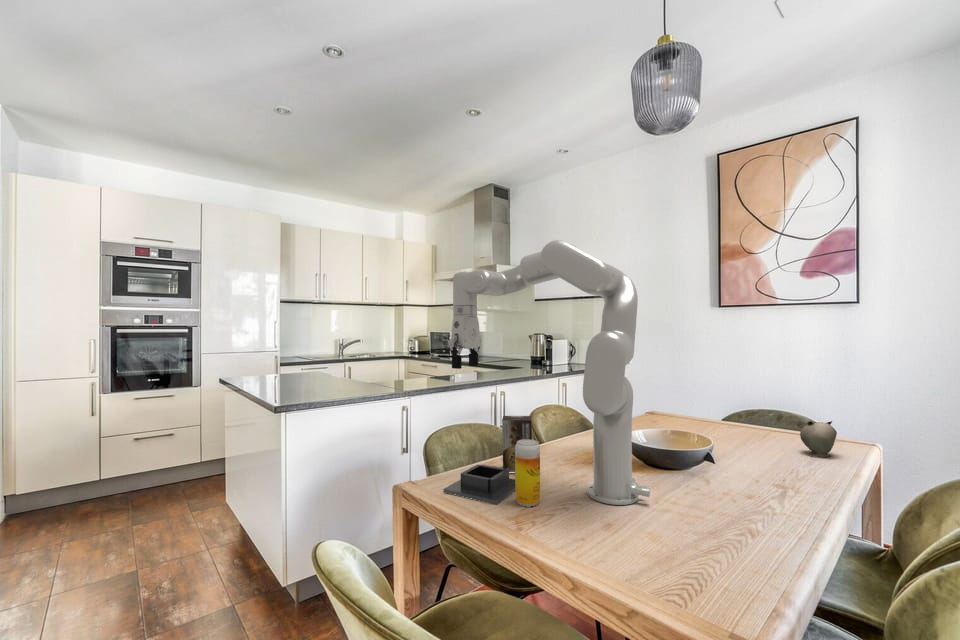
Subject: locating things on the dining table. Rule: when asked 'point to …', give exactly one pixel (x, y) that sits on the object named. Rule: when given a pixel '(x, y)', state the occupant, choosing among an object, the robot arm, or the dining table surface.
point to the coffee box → (514, 437)
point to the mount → (484, 484)
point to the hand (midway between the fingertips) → (465, 367)
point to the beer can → (527, 472)
